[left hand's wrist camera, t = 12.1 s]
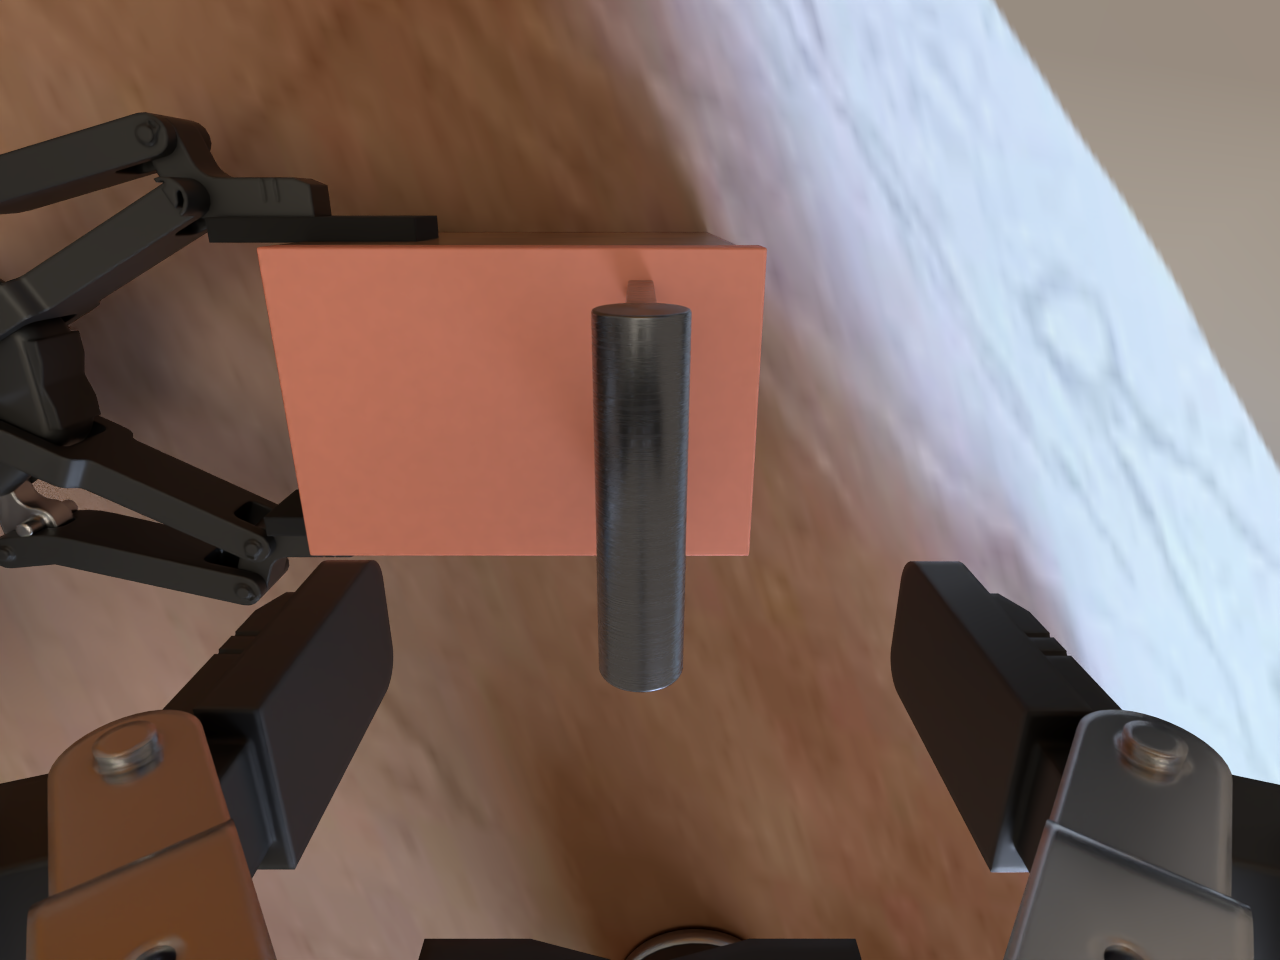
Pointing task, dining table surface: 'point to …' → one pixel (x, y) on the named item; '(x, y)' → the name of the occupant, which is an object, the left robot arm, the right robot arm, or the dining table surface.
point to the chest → (555, 239)
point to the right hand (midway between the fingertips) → (441, 379)
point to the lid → (528, 412)
